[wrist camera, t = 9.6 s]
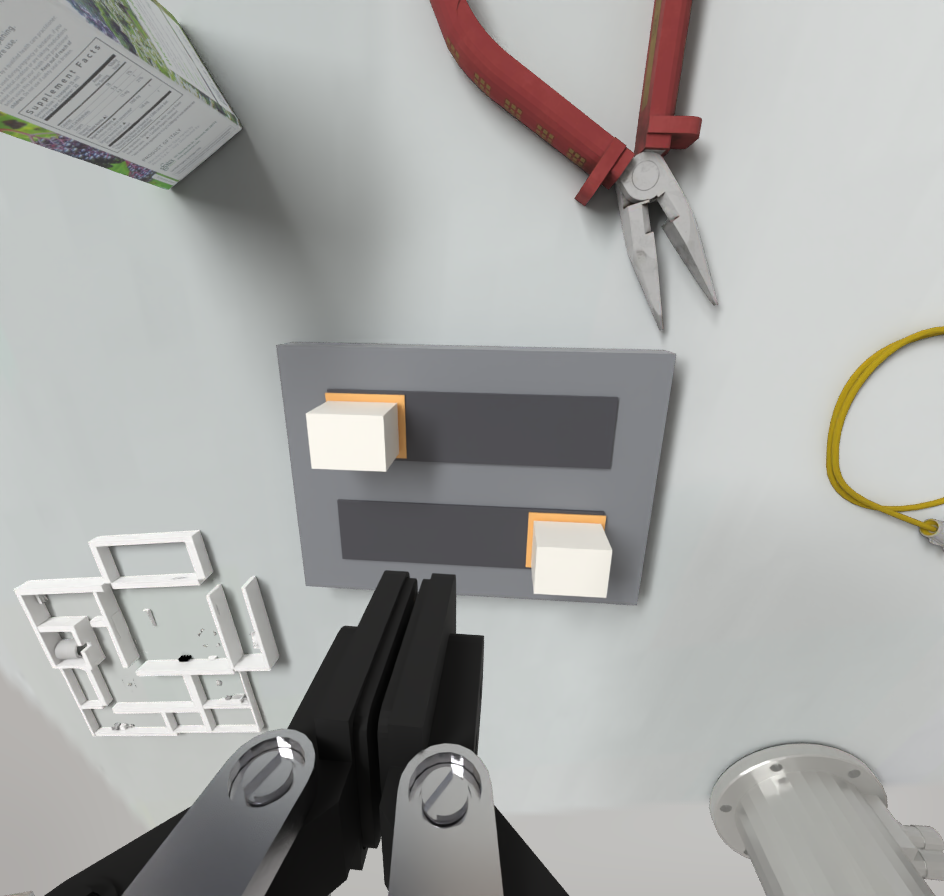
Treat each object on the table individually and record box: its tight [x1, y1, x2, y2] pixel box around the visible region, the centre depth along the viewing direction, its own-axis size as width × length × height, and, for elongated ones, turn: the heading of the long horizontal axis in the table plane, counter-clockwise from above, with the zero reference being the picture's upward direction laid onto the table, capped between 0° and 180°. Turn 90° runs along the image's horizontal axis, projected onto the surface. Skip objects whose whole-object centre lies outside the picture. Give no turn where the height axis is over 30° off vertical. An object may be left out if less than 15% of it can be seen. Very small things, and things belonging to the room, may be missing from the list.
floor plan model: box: [13, 530, 280, 736], centre depth 34 cm, size 19×25×2 cm
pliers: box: [430, 0, 718, 330], centre depth 22 cm, size 12×21×3 cm, turn 27°
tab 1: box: [306, 401, 399, 472], centre depth 24 cm, size 4×3×3 cm
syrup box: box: [0, 0, 242, 189], centre depth 17 cm, size 6×6×14 cm
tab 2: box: [531, 521, 612, 598], centre depth 26 cm, size 4×3×3 cm
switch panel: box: [276, 342, 676, 605], centre depth 28 cm, size 22×16×2 cm
